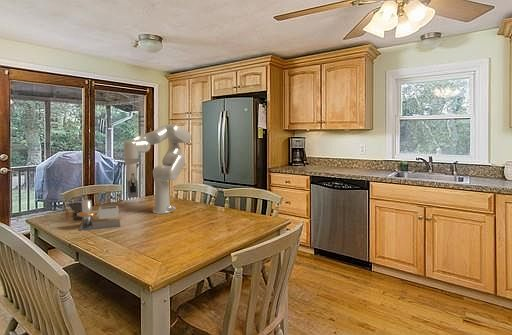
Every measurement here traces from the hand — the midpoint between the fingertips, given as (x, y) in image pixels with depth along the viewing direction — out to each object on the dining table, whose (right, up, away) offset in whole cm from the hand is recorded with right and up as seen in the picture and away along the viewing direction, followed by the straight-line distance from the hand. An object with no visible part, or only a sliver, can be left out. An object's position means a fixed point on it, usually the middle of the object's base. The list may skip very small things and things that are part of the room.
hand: (132, 191), depth 188 cm
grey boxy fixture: (-15, -19, -10) cm, 26 cm away
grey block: (0, -3, 0) cm, 3 cm away
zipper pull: (-39, -17, +11) cm, 44 cm away
